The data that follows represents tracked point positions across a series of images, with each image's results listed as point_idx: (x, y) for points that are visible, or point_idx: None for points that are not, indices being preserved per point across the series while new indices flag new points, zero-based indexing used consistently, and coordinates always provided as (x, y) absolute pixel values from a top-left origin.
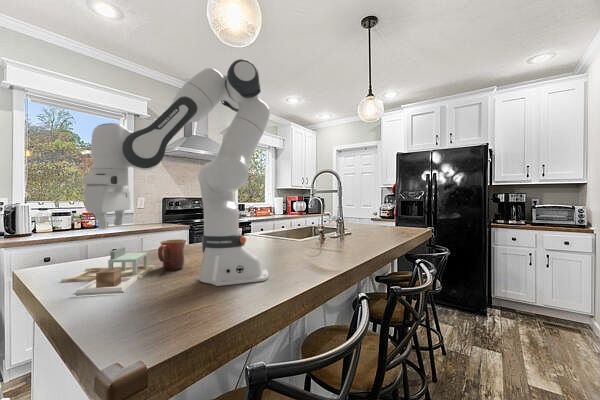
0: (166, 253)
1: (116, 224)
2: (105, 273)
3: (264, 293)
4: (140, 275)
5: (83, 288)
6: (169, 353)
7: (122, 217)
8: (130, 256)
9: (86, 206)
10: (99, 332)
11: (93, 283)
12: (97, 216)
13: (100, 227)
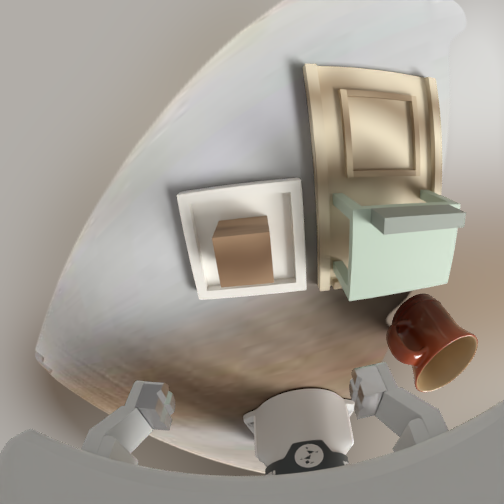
0: (415, 339)
1: (352, 380)
2: (217, 263)
3: (210, 445)
4: (322, 290)
5: (187, 207)
6: (65, 384)
7: (390, 423)
8: (403, 258)
9: (8, 449)
10: (64, 328)
11: (250, 195)
12: (94, 436)
13: (136, 390)
